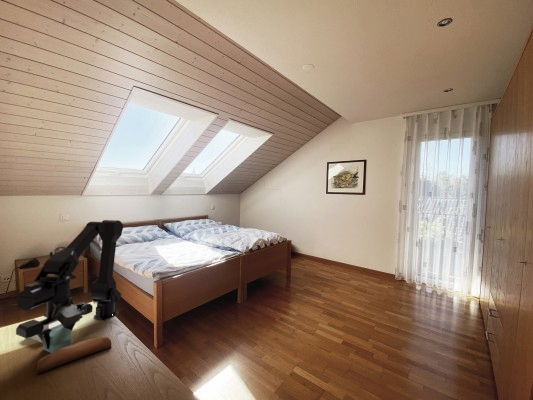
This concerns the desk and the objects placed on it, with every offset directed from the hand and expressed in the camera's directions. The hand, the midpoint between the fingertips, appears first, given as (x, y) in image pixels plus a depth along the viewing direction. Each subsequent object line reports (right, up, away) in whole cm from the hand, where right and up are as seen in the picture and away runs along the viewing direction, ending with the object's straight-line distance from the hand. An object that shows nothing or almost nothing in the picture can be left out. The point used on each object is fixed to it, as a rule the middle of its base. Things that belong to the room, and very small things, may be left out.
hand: (57, 344), depth 79 cm
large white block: (-9, -1, +8) cm, 12 cm away
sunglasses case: (+9, -2, -4) cm, 9 cm away
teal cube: (0, -1, 0) cm, 1 cm away
